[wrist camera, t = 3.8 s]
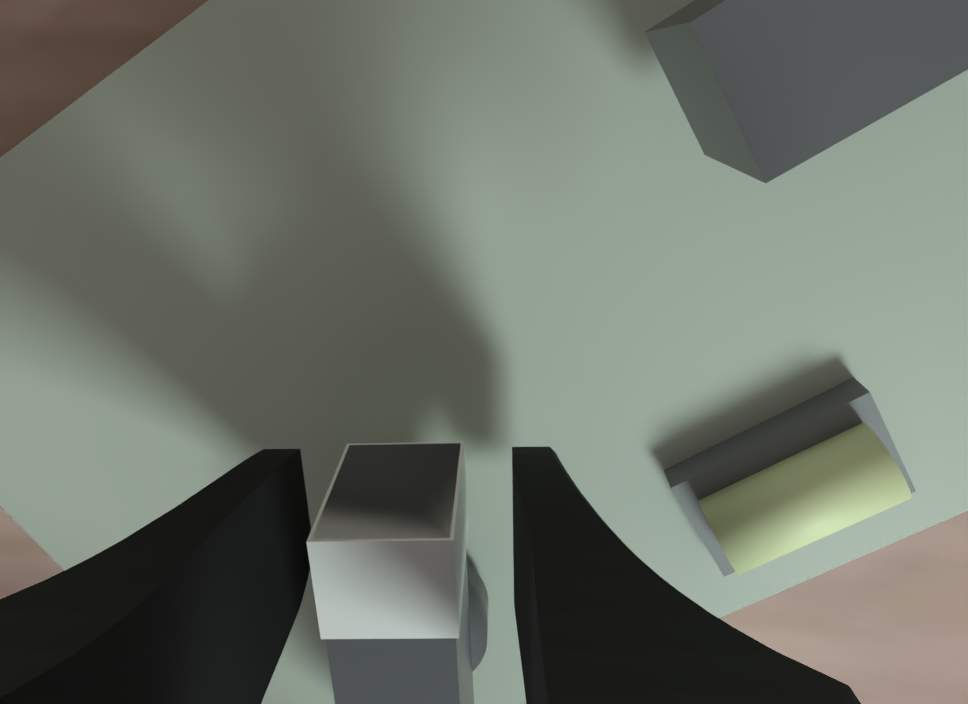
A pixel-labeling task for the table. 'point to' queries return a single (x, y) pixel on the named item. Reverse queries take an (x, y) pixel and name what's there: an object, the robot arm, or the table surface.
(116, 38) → the table surface
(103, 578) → the robot arm
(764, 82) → the knob
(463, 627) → the knob
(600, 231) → the base plate
